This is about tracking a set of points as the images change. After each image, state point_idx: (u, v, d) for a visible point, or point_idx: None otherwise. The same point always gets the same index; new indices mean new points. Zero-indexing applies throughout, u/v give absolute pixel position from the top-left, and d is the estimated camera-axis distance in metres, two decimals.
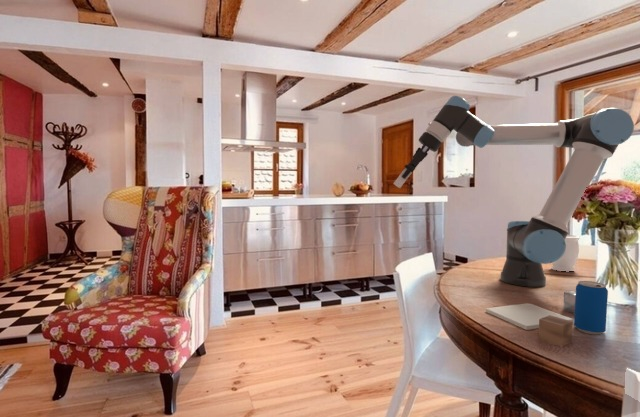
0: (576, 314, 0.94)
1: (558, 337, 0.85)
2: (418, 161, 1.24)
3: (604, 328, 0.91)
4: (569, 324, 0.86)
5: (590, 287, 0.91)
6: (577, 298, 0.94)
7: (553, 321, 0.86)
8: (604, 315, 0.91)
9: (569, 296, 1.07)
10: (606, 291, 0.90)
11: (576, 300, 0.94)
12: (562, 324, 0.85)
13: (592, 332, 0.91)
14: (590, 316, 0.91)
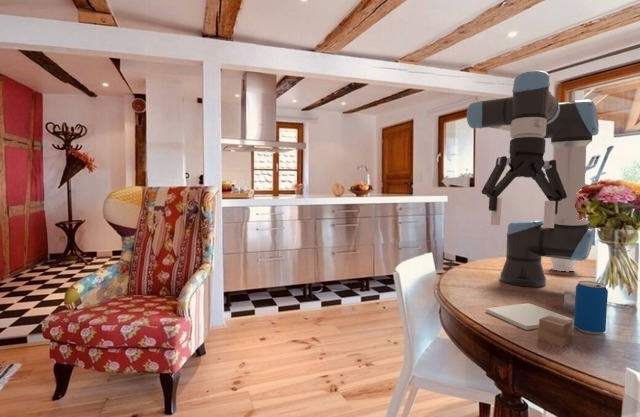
0: (576, 314, 0.94)
1: (558, 337, 0.85)
2: None
3: (604, 328, 0.91)
4: (569, 324, 0.86)
5: (590, 287, 0.91)
6: (577, 298, 0.94)
7: (553, 321, 0.86)
8: (604, 315, 0.91)
9: (569, 296, 1.07)
10: (606, 291, 0.90)
11: (576, 300, 0.94)
12: (562, 324, 0.85)
13: (592, 332, 0.91)
14: (590, 316, 0.91)
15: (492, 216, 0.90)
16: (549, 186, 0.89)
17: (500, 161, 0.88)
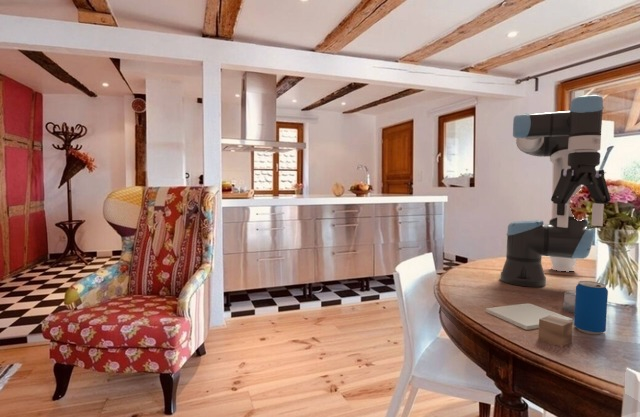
0: (576, 314, 0.94)
1: (558, 337, 0.85)
2: None
3: (604, 328, 0.91)
4: (569, 324, 0.86)
5: (590, 287, 0.91)
6: (577, 298, 0.94)
7: (553, 321, 0.86)
8: (604, 315, 0.91)
9: (569, 296, 1.07)
10: (606, 291, 0.90)
11: (576, 300, 0.94)
12: (562, 324, 0.85)
13: (592, 332, 0.91)
14: (590, 316, 0.91)
15: (559, 220, 1.05)
16: (599, 192, 1.07)
17: (566, 172, 1.03)
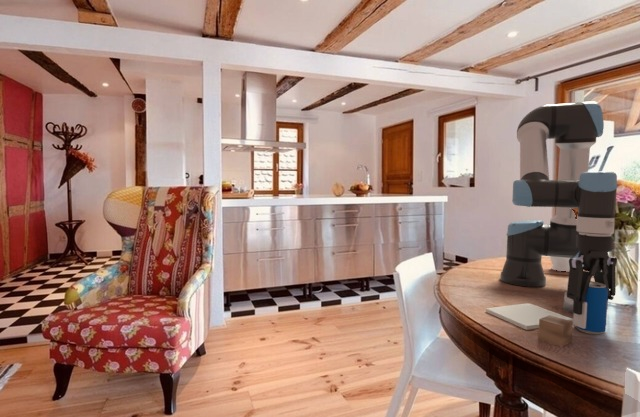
0: None
1: (558, 337, 0.85)
2: None
3: (604, 328, 0.91)
4: (569, 324, 0.86)
5: (590, 287, 0.91)
6: None
7: (553, 321, 0.86)
8: (604, 315, 0.91)
9: None
10: (606, 291, 0.90)
11: None
12: (562, 324, 0.85)
13: (592, 332, 0.91)
14: (590, 316, 0.91)
15: (575, 318, 0.93)
16: (606, 283, 0.93)
17: (575, 265, 0.90)
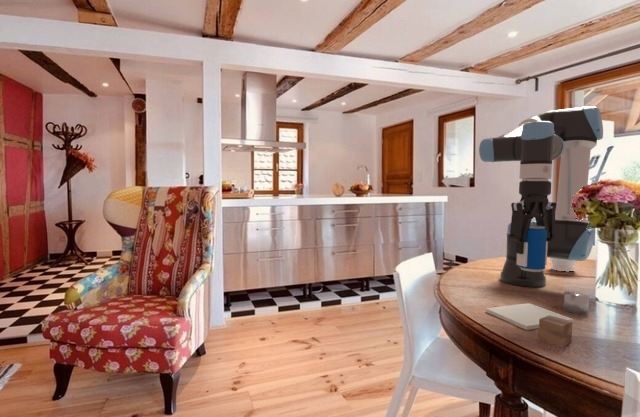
0: None
1: (558, 337, 0.85)
2: None
3: (543, 266, 0.99)
4: (569, 323, 0.86)
5: (530, 228, 0.99)
6: None
7: (553, 321, 0.86)
8: (543, 254, 0.99)
9: (569, 296, 1.07)
10: (545, 232, 0.99)
11: None
12: (562, 324, 0.85)
13: (532, 269, 0.99)
14: (531, 255, 0.99)
15: (518, 258, 1.01)
16: (546, 226, 1.01)
17: (516, 208, 0.98)
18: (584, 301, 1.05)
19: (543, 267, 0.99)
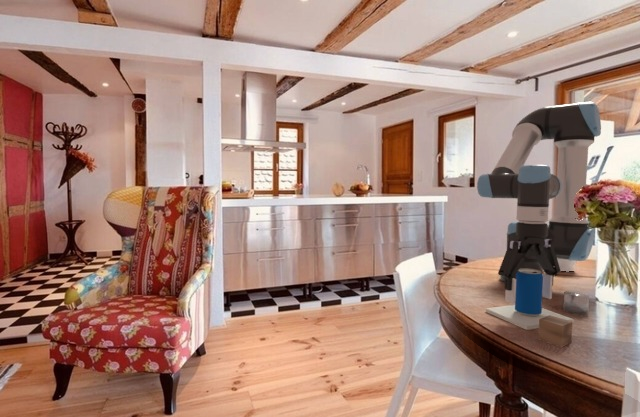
0: (516, 298, 1.03)
1: (558, 337, 0.85)
2: None
3: (539, 311, 1.00)
4: (569, 324, 0.86)
5: (526, 273, 1.00)
6: (516, 283, 1.03)
7: (553, 321, 0.86)
8: (539, 299, 1.00)
9: (569, 296, 1.07)
10: (541, 277, 1.00)
11: (516, 286, 1.03)
12: (562, 324, 0.85)
13: (528, 314, 1.00)
14: (527, 300, 1.00)
15: (507, 294, 1.01)
16: (548, 263, 1.02)
17: (512, 245, 0.99)
18: (584, 301, 1.05)
19: (539, 312, 1.00)
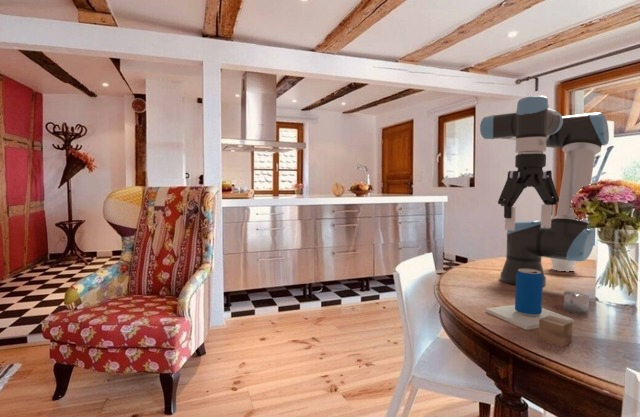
0: (516, 298, 1.03)
1: (558, 337, 0.85)
2: None
3: (539, 311, 1.00)
4: (569, 324, 0.86)
5: (527, 273, 1.00)
6: (516, 283, 1.03)
7: (553, 321, 0.86)
8: (539, 299, 1.00)
9: (569, 296, 1.07)
10: (541, 277, 1.00)
11: (516, 286, 1.03)
12: (562, 324, 0.85)
13: (528, 314, 1.00)
14: (527, 300, 1.00)
15: (506, 222, 1.05)
16: (547, 193, 1.06)
17: (512, 175, 1.02)
18: (584, 301, 1.05)
19: (539, 312, 1.00)
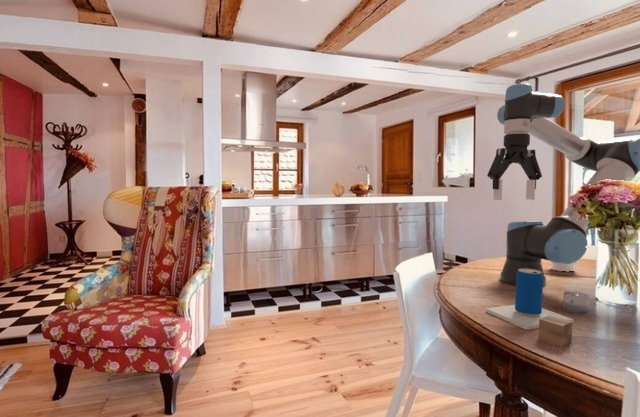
0: (516, 298, 1.03)
1: (558, 337, 0.85)
2: None
3: (539, 311, 1.00)
4: (569, 323, 0.86)
5: (527, 273, 1.00)
6: (516, 283, 1.03)
7: (553, 321, 0.86)
8: (539, 299, 1.00)
9: (569, 296, 1.07)
10: (541, 277, 1.00)
11: (516, 286, 1.03)
12: (562, 324, 0.85)
13: (528, 314, 1.00)
14: (527, 300, 1.00)
15: (494, 193, 1.20)
16: (531, 169, 1.22)
17: (500, 151, 1.18)
18: (584, 301, 1.05)
19: (539, 312, 1.00)
